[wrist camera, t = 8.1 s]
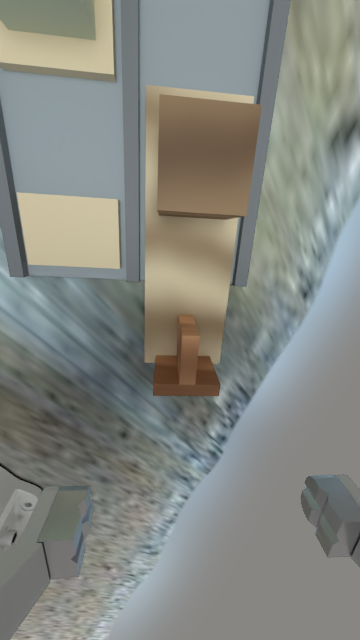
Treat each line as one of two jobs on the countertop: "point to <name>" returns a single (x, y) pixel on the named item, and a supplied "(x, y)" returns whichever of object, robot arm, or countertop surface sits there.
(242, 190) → the walnut cube
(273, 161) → the countertop surface
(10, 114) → the lane board
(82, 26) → the sage block
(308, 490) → the robot arm
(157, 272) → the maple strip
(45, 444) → the countertop surface
